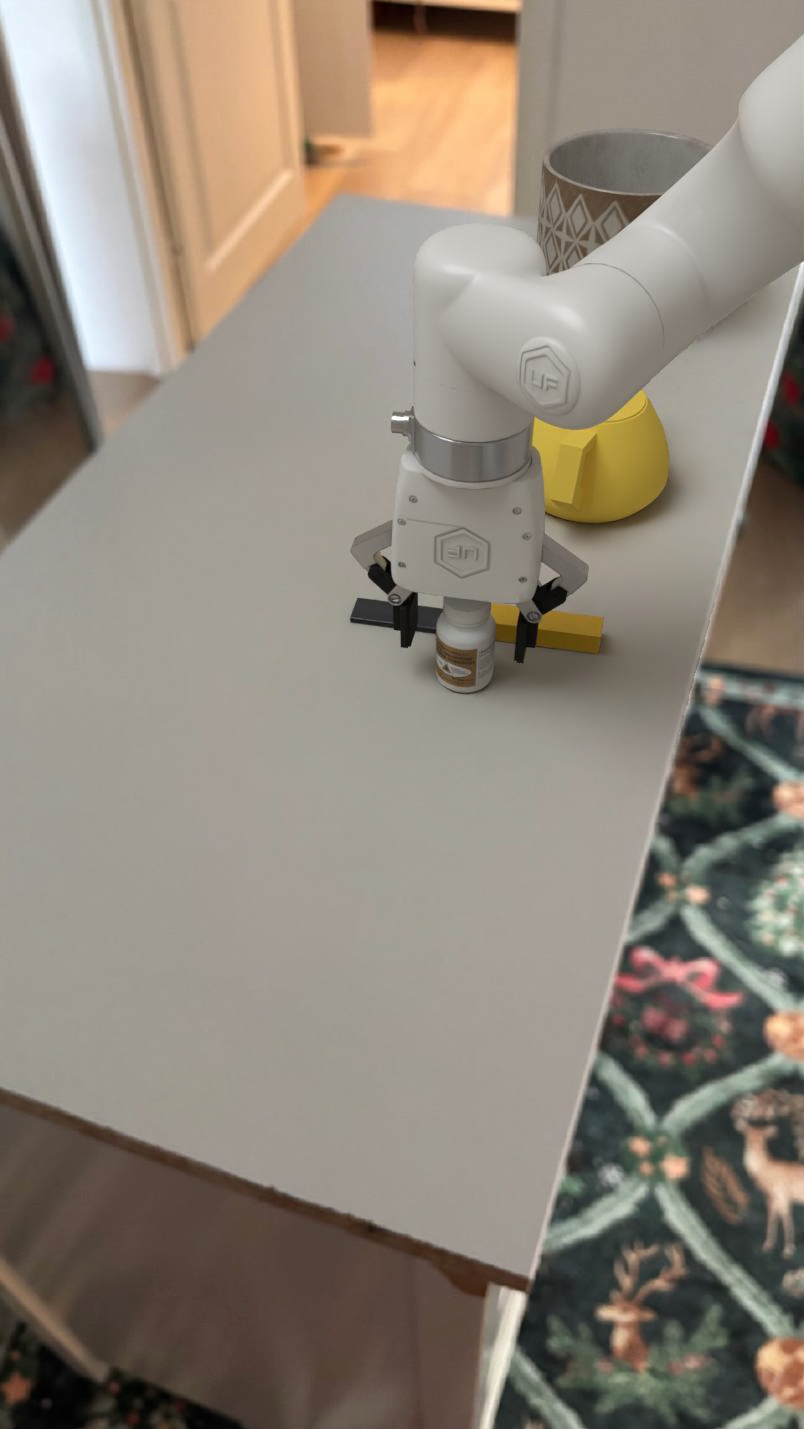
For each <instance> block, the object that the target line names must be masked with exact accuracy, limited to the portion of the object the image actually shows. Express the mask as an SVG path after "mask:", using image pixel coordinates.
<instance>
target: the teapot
mask: <svg viewBox="0 0 804 1429" xmlns="http://www.w3.org/2000/svg"><path fill="white" fill-rule="evenodd" d="M532 446H534V447H536V449H537V450H538V452H539V454H540V457H541V463H542V470H543V478H544V492H545V513H547V514H549V515H551V516H554V517H556V518H559V519H563V520H567V521H570V522H576V523H585V524H601V523H604V524H605V523H610V522H615V521H620V520H622V519H626V518H628V517H631V516H633V515H634V514H636V513H638V512H640V510H642V509H644V508H646V507H647V506H649V505H650V504H651V503H652V502H653V501H654V500H656V499H657V498H658V497H659V495H660V494H661V493H662V492H663V490H664V488H665V486H666V484H667V483H668V482H667V481H668V479H669V478H668V476H669V471H670V453H669V445H668V440H667V436H666V432H665V428H664V427H663V424H662V421H661V419H660V418H659V415H658V413H657V411H656V409H655V407H654V405H653V404H652V401H651V400H650V398H649V396H648V395H647V393H646V392H645V391H644V390H643V388H642V389H641V390H640V391H639V392H638V393H637V394H636V395H635V396H634V397H633V398H632V399H631V400H630V401H629V402H628V403H627V404H626V405H624V406H623V407H622V408H621V409H620V410H619V411H618V412H617V413H615V414H614V415H613V416H612V417H610V418H609V419H608V420H606V421H605V422H603V423H601V424H599V425H596V426H594V427H592V428H588V429H581V430H569V429H563V428H559V427H556V426H553V425H550V424H548V423H546V422H543V421H541V420H540V419H538V418H536V417H535V419H534V431H533V443H532Z"/></svg>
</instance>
